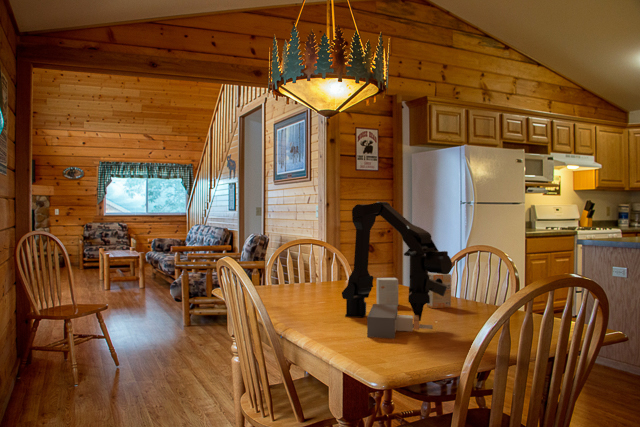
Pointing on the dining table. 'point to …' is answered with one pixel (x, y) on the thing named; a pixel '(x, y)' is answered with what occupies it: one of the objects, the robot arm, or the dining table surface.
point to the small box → (387, 291)
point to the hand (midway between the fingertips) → (418, 320)
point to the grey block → (382, 321)
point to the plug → (408, 323)
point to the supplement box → (437, 299)
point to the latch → (416, 322)
